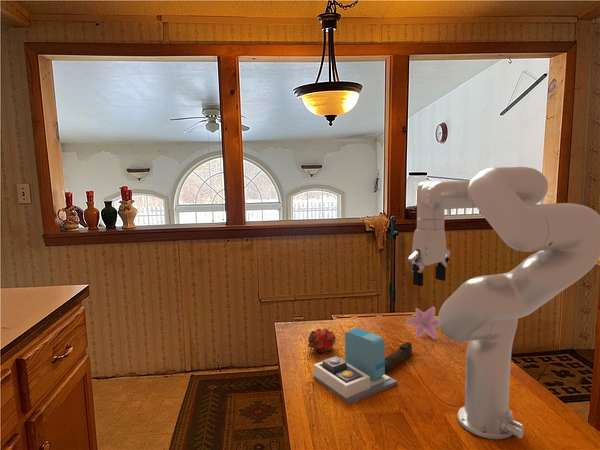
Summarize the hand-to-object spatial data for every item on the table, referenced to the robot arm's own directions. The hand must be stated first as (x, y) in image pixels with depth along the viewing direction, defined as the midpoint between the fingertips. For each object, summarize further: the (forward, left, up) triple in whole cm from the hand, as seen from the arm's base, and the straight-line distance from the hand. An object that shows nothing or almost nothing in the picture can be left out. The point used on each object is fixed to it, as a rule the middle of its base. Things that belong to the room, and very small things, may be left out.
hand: (429, 282), depth 119 cm
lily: (+21, -23, -29) cm, 42 cm away
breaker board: (+10, +21, -28) cm, 36 cm away
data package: (+10, +17, -27) cm, 33 cm away
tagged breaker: (+7, +25, -27) cm, 38 cm away
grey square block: (+13, +25, -25) cm, 38 cm away
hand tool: (+11, +2, -29) cm, 31 cm away
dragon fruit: (+32, +16, -29) cm, 46 cm away
